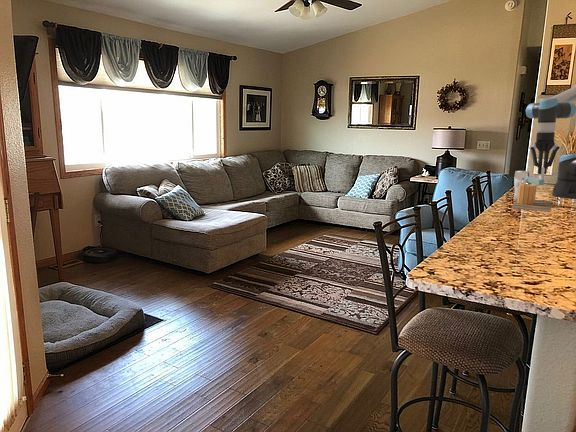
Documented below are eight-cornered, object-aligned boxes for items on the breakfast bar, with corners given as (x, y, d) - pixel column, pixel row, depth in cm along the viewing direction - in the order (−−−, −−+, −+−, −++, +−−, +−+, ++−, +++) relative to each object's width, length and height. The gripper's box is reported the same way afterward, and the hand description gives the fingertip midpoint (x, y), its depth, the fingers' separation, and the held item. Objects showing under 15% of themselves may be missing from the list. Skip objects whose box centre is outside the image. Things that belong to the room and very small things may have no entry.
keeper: (524, 181, 231) (524, 176, 231) (530, 181, 231) (531, 176, 230) (537, 185, 218) (538, 180, 217) (544, 185, 218) (545, 180, 217)
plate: (516, 201, 237) (516, 198, 237) (551, 204, 229) (552, 201, 228) (510, 211, 212) (510, 208, 211) (549, 215, 204) (550, 211, 203)
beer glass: (523, 198, 244) (526, 170, 241) (529, 200, 238) (532, 172, 234) (510, 198, 245) (512, 170, 242) (515, 200, 238) (518, 172, 235)
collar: (517, 201, 229) (519, 183, 227) (534, 202, 225) (536, 184, 223) (516, 203, 223) (518, 185, 221) (533, 205, 219) (536, 186, 217)
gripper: (557, 131, 219) (552, 179, 224) (528, 131, 221) (524, 179, 226) (563, 131, 212) (558, 182, 217) (533, 132, 214) (529, 182, 219)
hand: (541, 180), depth 221 cm, fingers closed
